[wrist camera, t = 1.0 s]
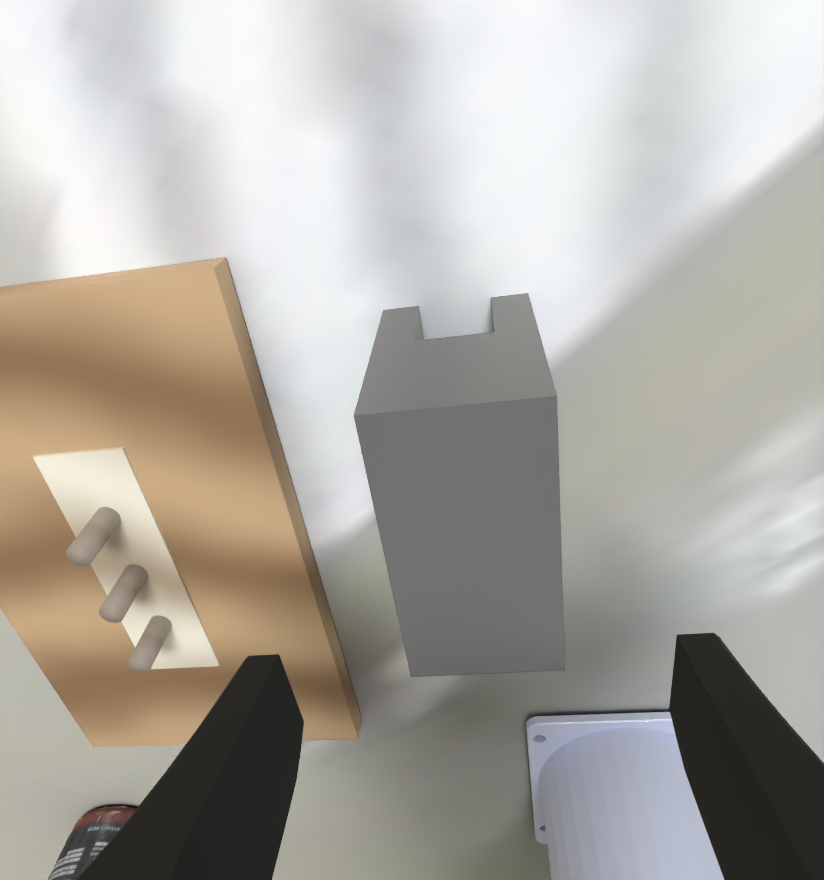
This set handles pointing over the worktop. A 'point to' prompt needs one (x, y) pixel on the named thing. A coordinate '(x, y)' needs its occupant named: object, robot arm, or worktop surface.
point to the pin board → (153, 507)
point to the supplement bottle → (89, 840)
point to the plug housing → (467, 491)
